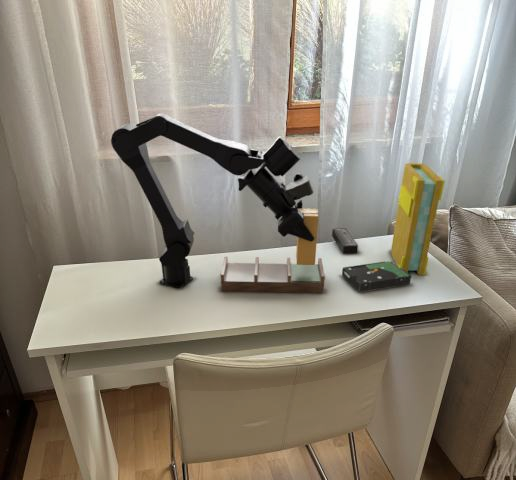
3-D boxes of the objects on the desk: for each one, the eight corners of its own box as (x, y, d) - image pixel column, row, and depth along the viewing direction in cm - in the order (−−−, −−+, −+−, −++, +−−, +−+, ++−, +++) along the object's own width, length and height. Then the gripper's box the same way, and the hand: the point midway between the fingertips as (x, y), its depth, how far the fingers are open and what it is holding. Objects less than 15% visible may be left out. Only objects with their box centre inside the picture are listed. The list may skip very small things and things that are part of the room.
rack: (221, 291, 125) (220, 274, 123) (225, 273, 135) (224, 256, 132) (323, 293, 125) (324, 276, 122) (320, 274, 134) (321, 258, 131)
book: (425, 274, 134) (444, 180, 120) (400, 274, 134) (416, 180, 120) (410, 249, 148) (426, 163, 134) (387, 249, 148) (401, 162, 134)
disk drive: (359, 294, 125) (410, 285, 129) (360, 284, 123) (412, 275, 127) (341, 276, 133) (389, 268, 137) (341, 267, 132) (391, 259, 135)
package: (296, 264, 124) (299, 215, 117) (295, 255, 128) (298, 207, 121) (314, 265, 124) (318, 215, 117) (313, 256, 128) (317, 208, 121)
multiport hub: (342, 253, 146) (343, 246, 144) (331, 235, 158) (332, 228, 156) (357, 253, 146) (358, 245, 145) (345, 234, 158) (345, 227, 157)
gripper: (295, 176, 105) (342, 227, 111) (292, 155, 121) (334, 201, 127) (257, 212, 110) (304, 259, 116) (260, 187, 125) (301, 230, 131)
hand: (312, 235), depth 122 cm, fingers closed on package, 5 cm apart
